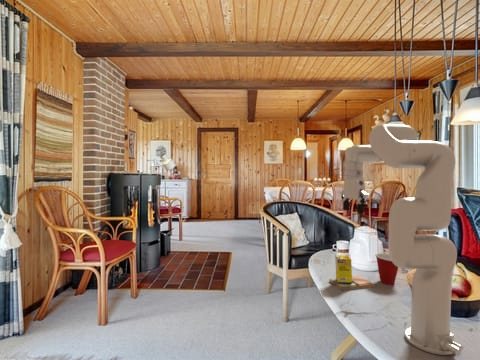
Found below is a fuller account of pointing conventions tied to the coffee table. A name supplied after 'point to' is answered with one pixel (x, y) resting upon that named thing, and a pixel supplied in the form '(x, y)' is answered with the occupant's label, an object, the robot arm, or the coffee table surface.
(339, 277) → the supplement box
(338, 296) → the coffee table surface
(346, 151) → the robot arm
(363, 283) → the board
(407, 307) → the coffee table surface
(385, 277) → the plastic cup
